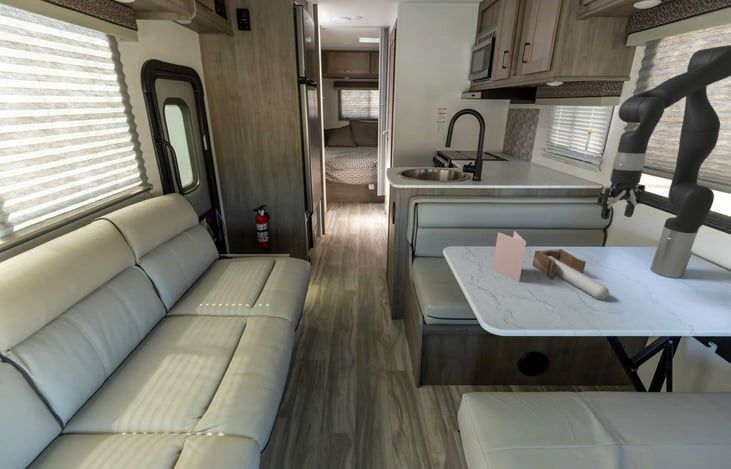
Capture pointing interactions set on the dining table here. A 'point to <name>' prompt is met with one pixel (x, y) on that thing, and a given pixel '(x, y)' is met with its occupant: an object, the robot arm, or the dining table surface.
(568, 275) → the tube
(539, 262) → the socket block
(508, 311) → the dining table surface
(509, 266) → the greeting card
